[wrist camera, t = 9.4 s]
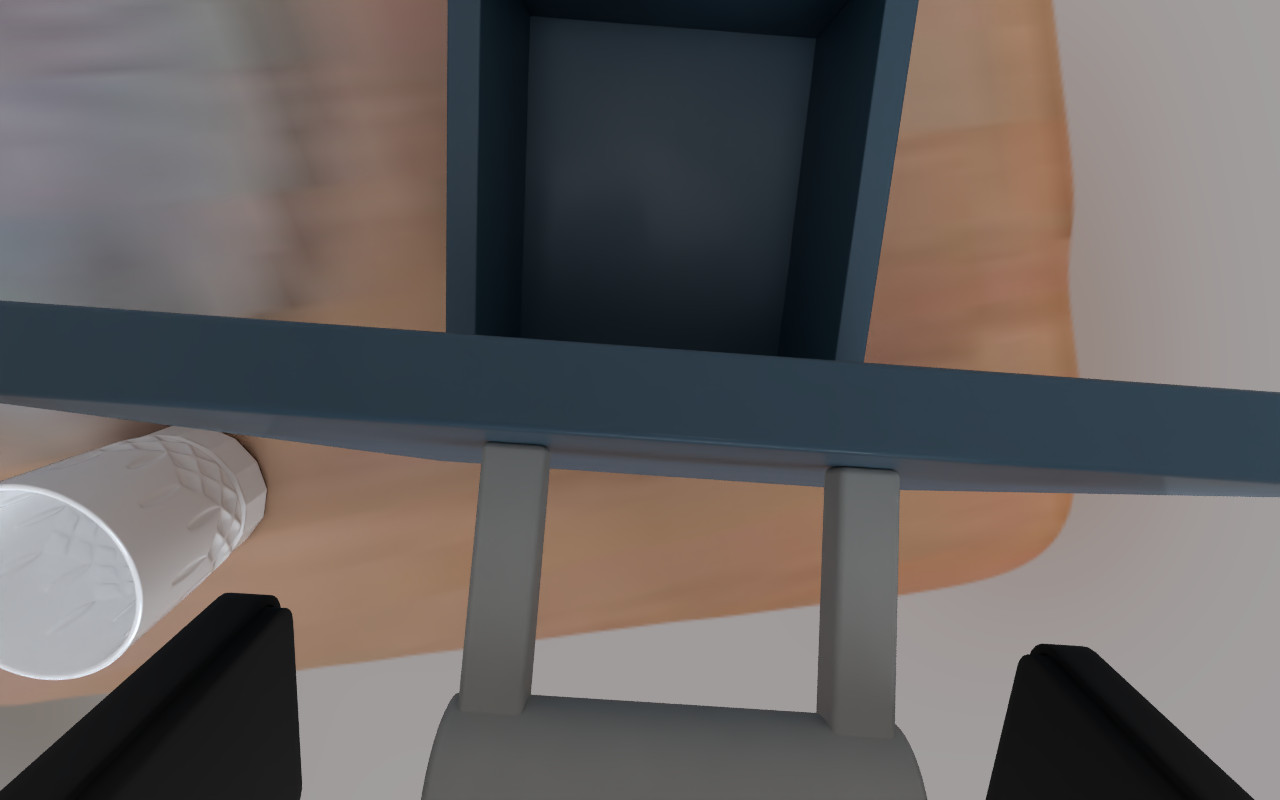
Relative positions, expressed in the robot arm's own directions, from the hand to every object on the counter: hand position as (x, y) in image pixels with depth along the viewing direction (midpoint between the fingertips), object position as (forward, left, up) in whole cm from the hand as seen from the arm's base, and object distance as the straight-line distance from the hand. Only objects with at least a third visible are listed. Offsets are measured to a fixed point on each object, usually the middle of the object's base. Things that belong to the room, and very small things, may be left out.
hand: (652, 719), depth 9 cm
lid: (-2, 0, -6) cm, 7 cm away
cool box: (-7, 0, -25) cm, 26 cm away
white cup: (+8, -22, -25) cm, 34 cm away
